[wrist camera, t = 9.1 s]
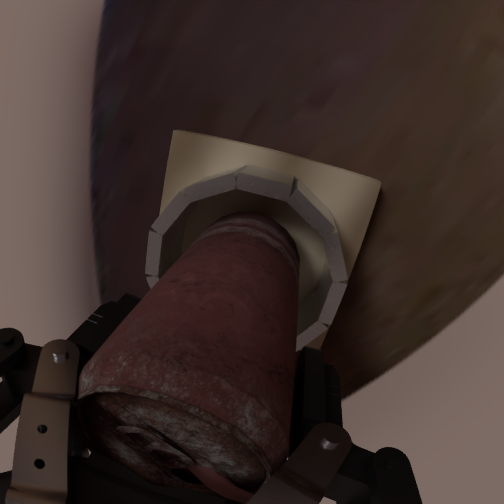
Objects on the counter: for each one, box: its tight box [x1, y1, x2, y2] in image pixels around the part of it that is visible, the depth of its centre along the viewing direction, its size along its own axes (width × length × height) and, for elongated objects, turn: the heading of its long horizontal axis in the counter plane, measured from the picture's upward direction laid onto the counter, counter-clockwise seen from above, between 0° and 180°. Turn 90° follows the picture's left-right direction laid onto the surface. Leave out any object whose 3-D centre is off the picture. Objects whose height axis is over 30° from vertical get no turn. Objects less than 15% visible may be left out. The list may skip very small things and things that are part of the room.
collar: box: [145, 165, 348, 352], centre depth 19 cm, size 11×11×4 cm
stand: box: [160, 130, 382, 351], centre depth 21 cm, size 13×13×1 cm
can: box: [75, 212, 300, 504], centre depth 13 cm, size 6×6×14 cm
